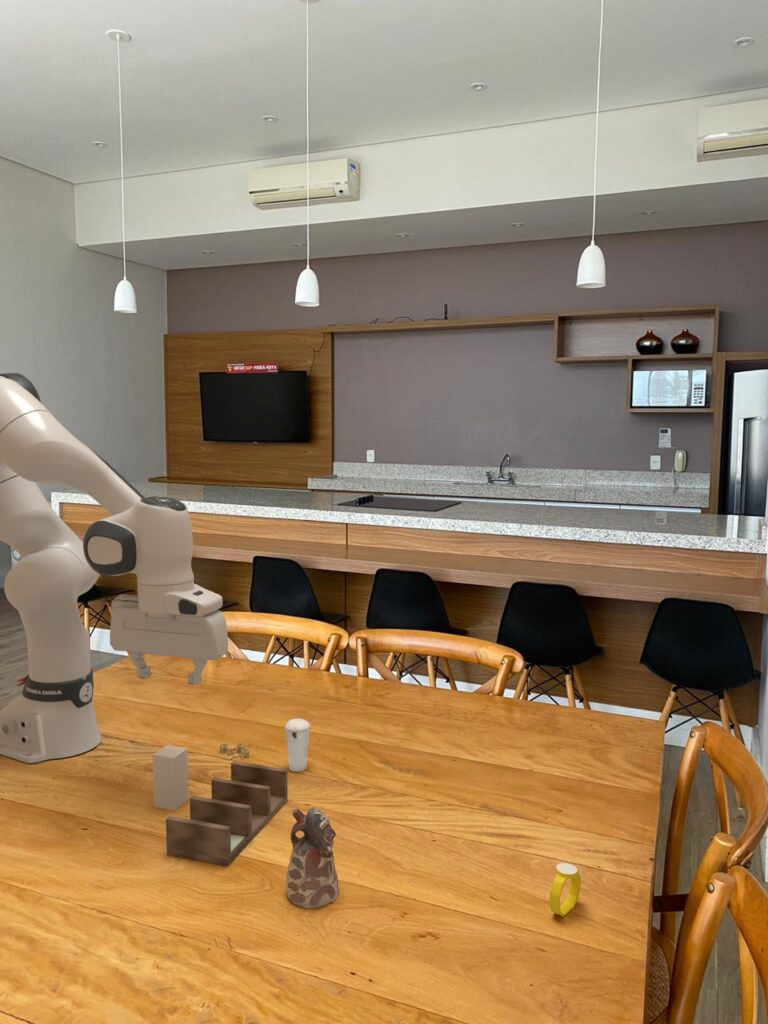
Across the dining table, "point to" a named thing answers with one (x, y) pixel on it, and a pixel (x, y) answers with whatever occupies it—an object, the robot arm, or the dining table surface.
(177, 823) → the slot rack
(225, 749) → the dice set
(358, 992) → the dining table surface
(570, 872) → the watch
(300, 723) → the milkshake
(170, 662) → the dining table surface
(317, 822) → the figurine
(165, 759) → the peg
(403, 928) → the dining table surface
